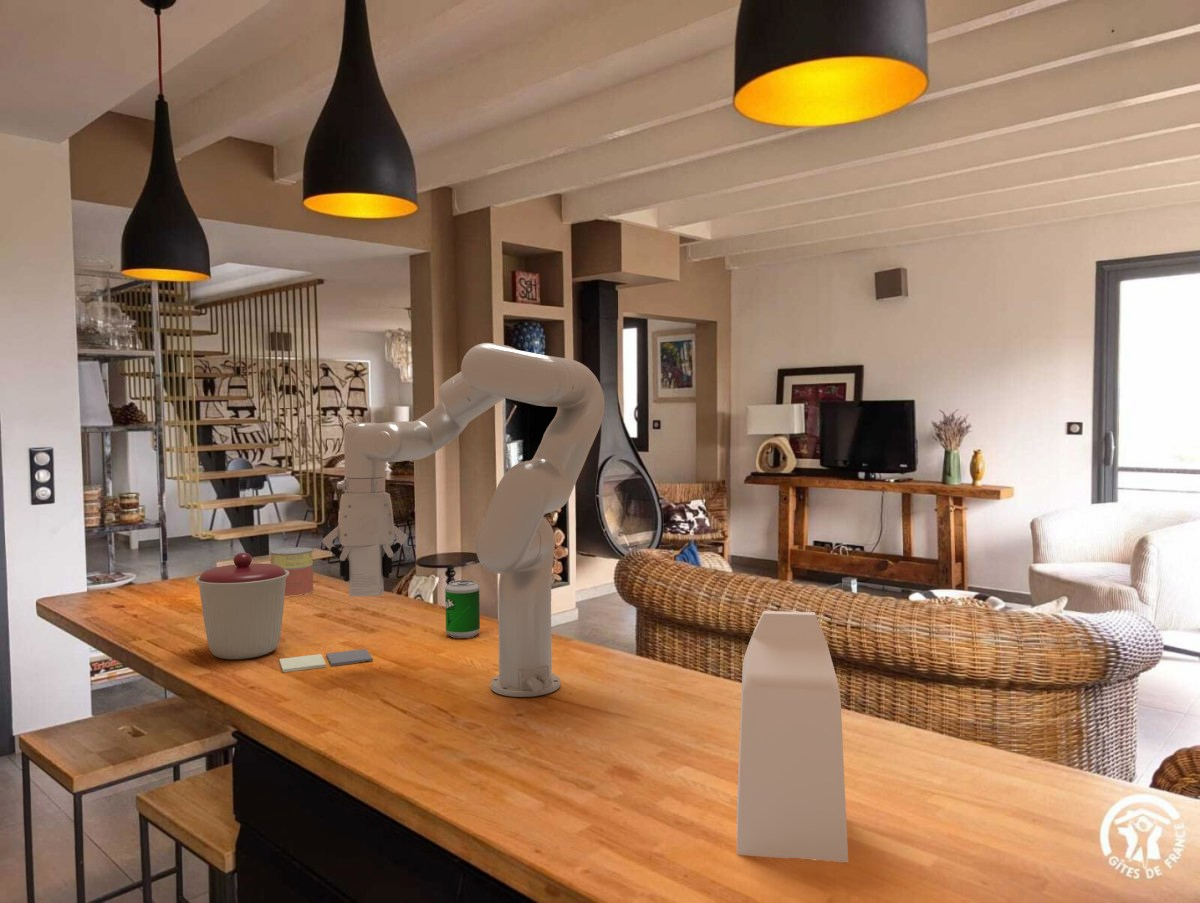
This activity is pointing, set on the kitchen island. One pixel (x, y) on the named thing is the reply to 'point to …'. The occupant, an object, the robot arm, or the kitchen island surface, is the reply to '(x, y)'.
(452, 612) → the soda can
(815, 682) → the milk
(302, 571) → the canned food
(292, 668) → the sage pad
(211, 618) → the canister
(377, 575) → the skincare box
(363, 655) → the slate pad
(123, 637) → the kitchen island surface
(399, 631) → the kitchen island surface
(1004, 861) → the kitchen island surface
